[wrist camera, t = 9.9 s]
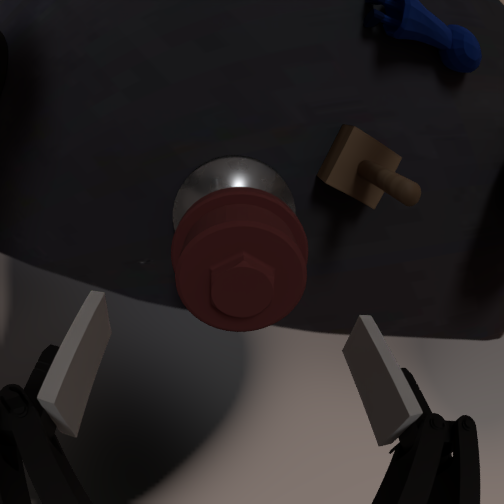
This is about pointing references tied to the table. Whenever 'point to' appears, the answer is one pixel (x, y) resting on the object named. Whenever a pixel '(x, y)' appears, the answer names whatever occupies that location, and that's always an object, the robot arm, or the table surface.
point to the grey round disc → (229, 181)
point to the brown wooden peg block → (366, 169)
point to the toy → (427, 32)
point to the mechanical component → (240, 259)
